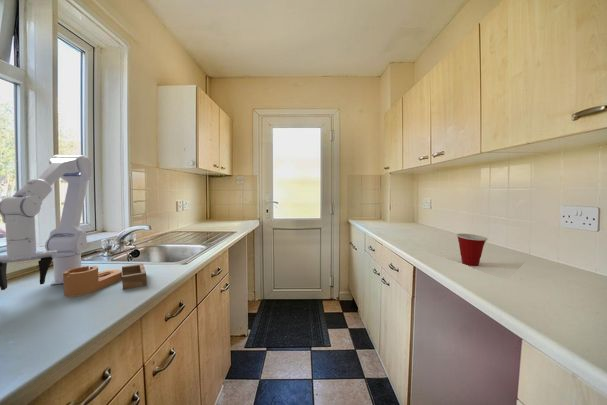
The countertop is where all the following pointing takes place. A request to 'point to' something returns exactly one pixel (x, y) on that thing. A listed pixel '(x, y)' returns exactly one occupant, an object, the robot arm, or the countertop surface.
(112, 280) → the bracket
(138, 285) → the jig
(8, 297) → the countertop surface
